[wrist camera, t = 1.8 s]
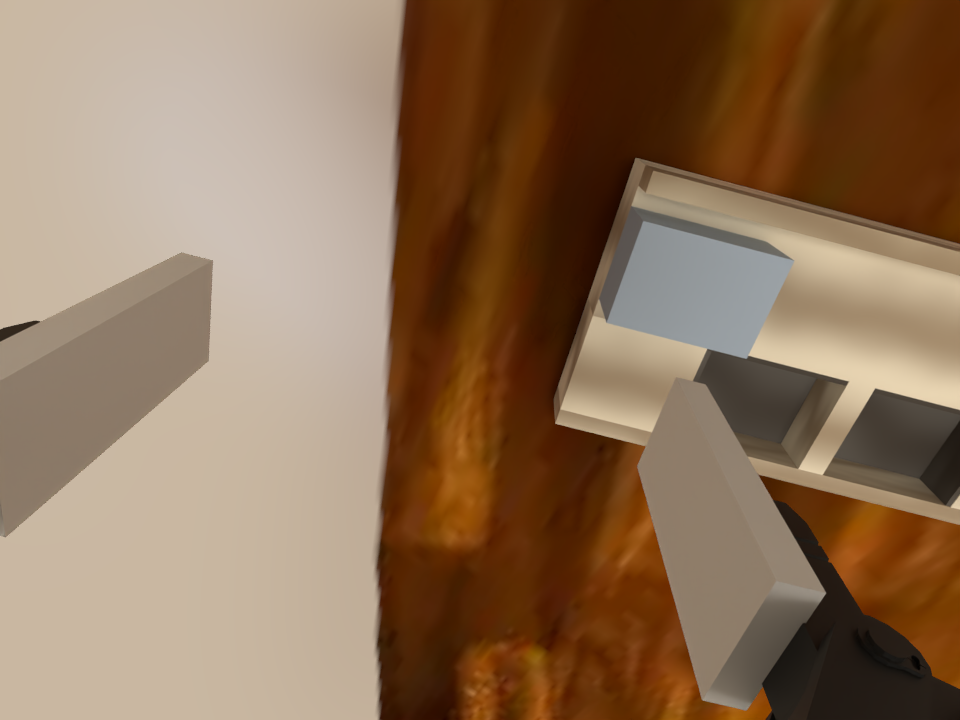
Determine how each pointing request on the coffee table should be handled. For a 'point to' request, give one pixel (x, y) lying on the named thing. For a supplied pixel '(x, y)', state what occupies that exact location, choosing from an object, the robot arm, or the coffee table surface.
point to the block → (692, 282)
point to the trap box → (799, 350)
